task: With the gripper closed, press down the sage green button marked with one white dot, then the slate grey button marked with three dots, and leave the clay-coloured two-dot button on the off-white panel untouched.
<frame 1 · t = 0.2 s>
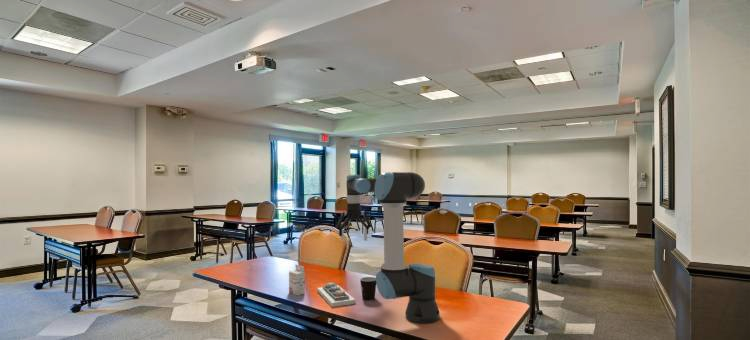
hand: (353, 241, 211), 28 cm above the table, tool pointing down, fingers open, 13 cm apart
ink cartridge box: (296, 293, 208), on the table
clay button: (339, 293, 193), point 4 cm above the table, slide at 0.0 cm
sage button: (330, 285, 207), point 4 cm above the table, slide at 0.0 cm
button panel: (335, 297, 200), on the table
coffee mug: (369, 297, 199), on the table
slate button: (335, 288, 200), point 4 cm above the table, slide at 0.0 cm
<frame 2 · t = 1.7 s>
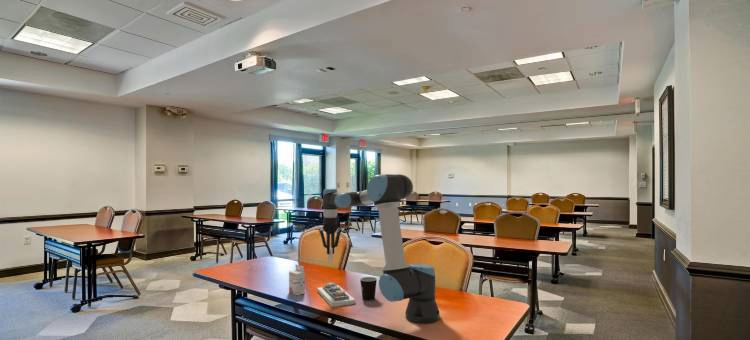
hand: (330, 260, 208), 18 cm above the table, tool pointing down, fingers closed
nothing on the table moved.
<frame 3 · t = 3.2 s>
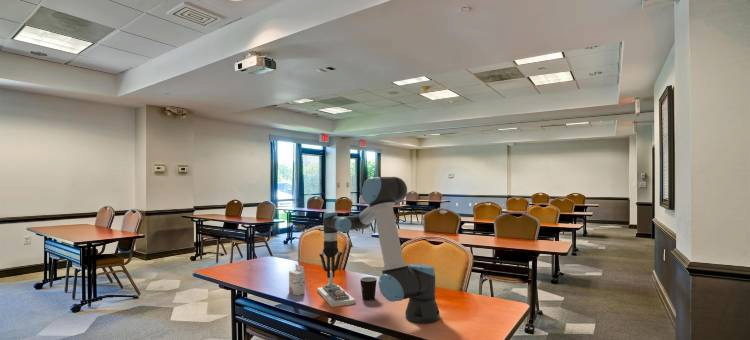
hand: (330, 283, 208), 5 cm above the table, tool pointing down, fingers closed
sage button: (330, 285, 207), point 4 cm above the table, slide at 0.2 cm, touching gripper
everything else where it was.
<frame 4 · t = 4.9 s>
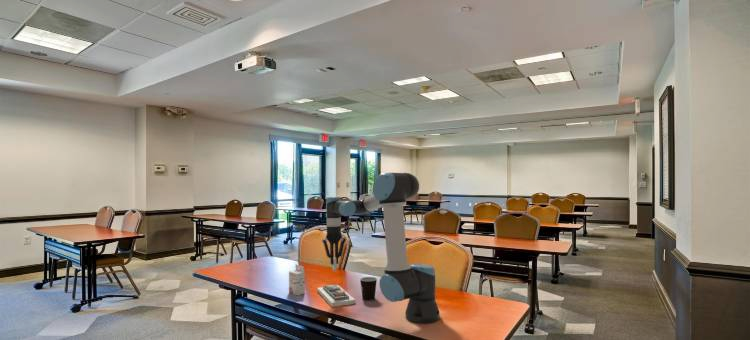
hand: (334, 270, 202), 14 cm above the table, tool pointing down, fingers closed
sage button: (330, 287, 207), point 3 cm above the table, slide at 1.3 cm
everything else where it was.
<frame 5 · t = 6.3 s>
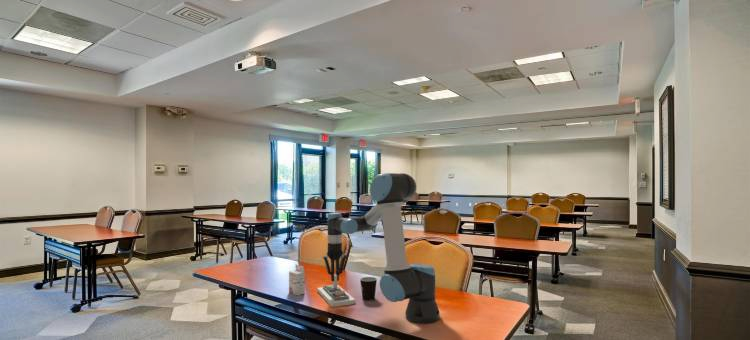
hand: (335, 287, 200), 5 cm above the table, tool pointing down, fingers closed
slate button: (335, 289, 200), point 4 cm above the table, slide at 0.2 cm, touching gripper
everything else where it was.
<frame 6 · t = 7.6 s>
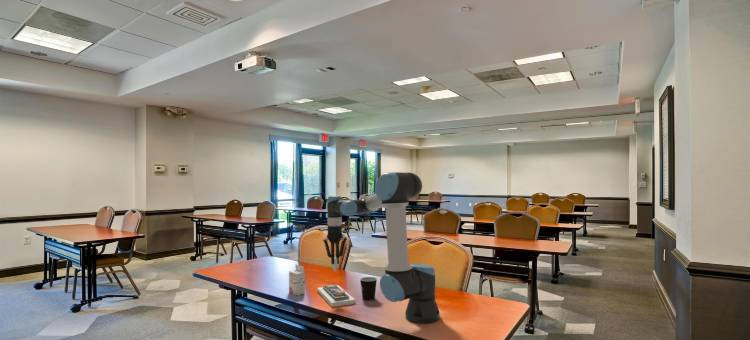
hand: (335, 270, 200), 14 cm above the table, tool pointing down, fingers closed
slate button: (335, 291, 200), point 3 cm above the table, slide at 1.3 cm
everything else where it was.
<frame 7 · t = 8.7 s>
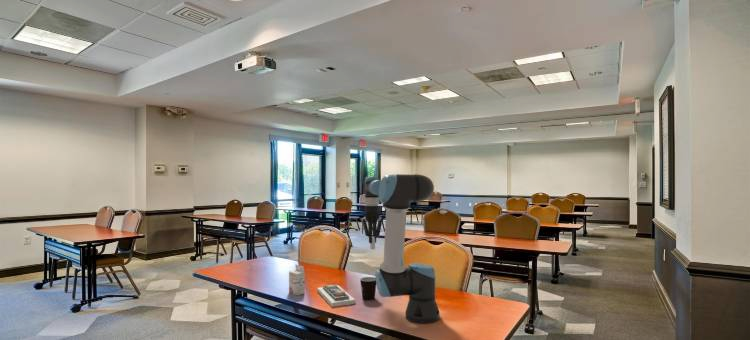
hand: (372, 249, 206), 24 cm above the table, tool pointing down, fingers closed
nothing on the table moved.
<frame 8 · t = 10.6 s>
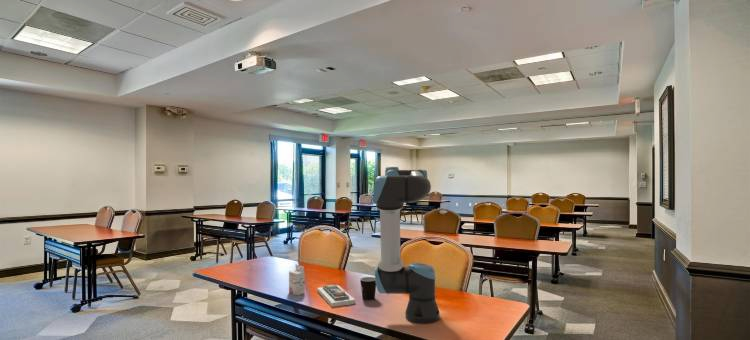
hand: (392, 237, 209), 29 cm above the table, tool pointing down, fingers closed
nothing on the table moved.
at the end: sage button slide at 1.3 cm; slate button slide at 1.3 cm; clay button slide at 0.0 cm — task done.
